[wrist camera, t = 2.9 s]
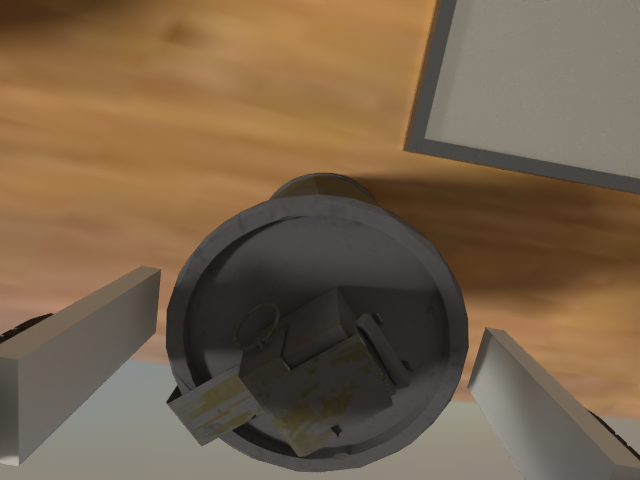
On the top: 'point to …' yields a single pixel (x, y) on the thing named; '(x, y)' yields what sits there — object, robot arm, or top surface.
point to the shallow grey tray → (533, 89)
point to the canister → (315, 330)
